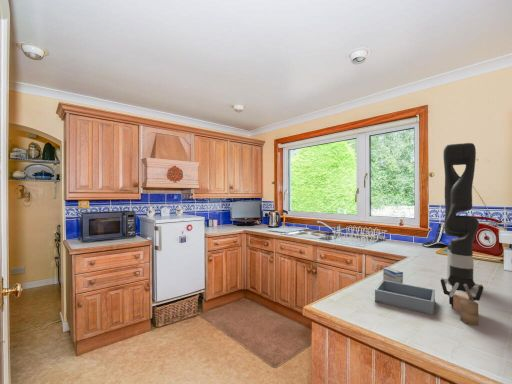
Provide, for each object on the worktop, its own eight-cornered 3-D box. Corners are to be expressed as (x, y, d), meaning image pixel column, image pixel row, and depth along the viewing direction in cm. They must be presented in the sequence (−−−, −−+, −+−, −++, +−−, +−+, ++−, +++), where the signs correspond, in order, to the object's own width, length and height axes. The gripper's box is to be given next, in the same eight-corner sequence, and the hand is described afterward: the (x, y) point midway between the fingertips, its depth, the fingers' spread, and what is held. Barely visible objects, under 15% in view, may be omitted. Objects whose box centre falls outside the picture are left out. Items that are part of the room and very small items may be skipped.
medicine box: (382, 285, 131) (382, 268, 131) (389, 284, 133) (389, 267, 133) (396, 291, 124) (396, 272, 124) (403, 289, 125) (403, 271, 125)
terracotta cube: (453, 304, 109) (453, 292, 109) (468, 308, 106) (468, 295, 106) (453, 309, 105) (453, 296, 105) (469, 312, 102) (469, 299, 102)
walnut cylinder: (460, 317, 98) (460, 298, 98) (477, 321, 95) (477, 301, 95) (460, 322, 94) (460, 303, 94) (478, 326, 91) (479, 306, 91)
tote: (382, 290, 124) (382, 279, 124) (434, 301, 112) (435, 289, 112) (374, 301, 112) (374, 289, 112) (433, 315, 100) (433, 302, 100)
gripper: (483, 266, 104) (483, 309, 104) (439, 260, 113) (439, 300, 113) (485, 270, 98) (485, 316, 98) (439, 264, 107) (438, 306, 107)
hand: (460, 307), depth 105 cm, fingers closed on terracotta cube, 5 cm apart
